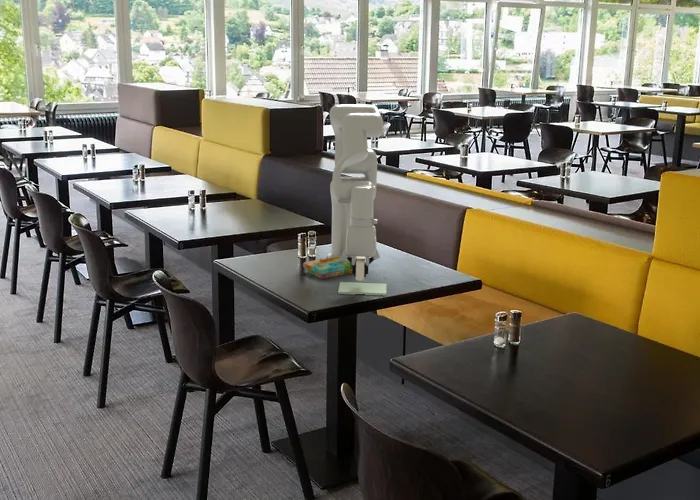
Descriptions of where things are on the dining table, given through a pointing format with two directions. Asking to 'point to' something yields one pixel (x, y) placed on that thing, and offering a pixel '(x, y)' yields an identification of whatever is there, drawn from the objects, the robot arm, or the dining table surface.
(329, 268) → the puzzle game
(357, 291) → the mat
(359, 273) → the card box
